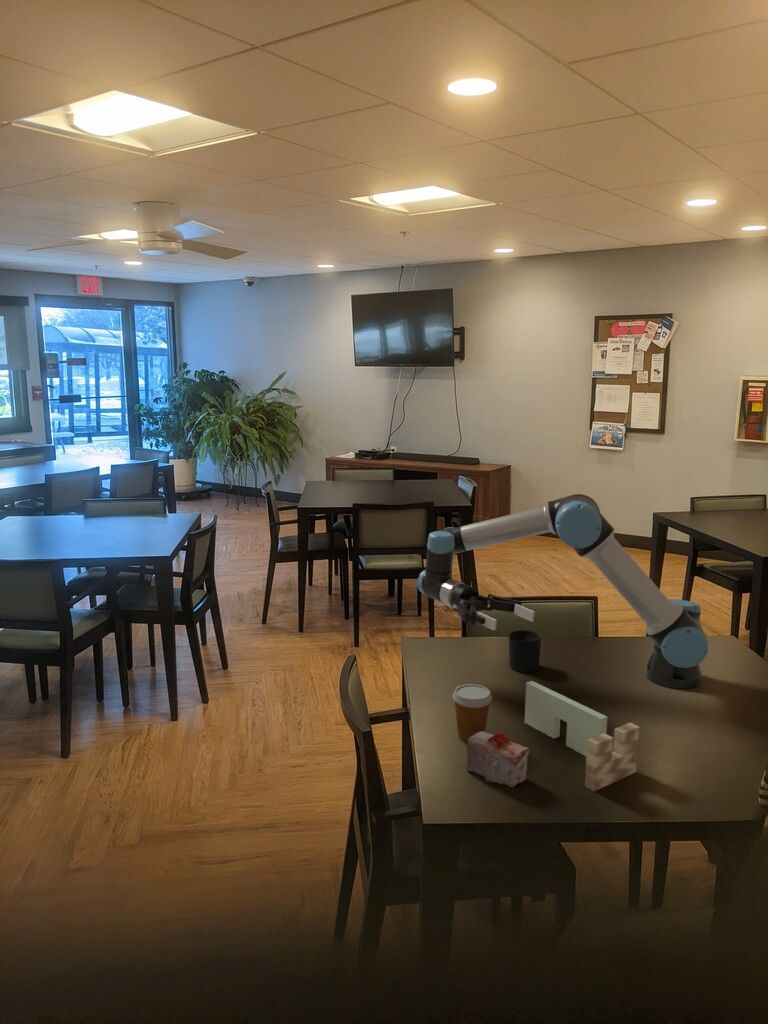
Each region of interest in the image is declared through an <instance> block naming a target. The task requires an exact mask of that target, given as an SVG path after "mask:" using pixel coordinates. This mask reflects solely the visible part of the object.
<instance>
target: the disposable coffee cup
mask: <svg viewBox="0 0 768 1024" xmlns="http://www.w3.org/2000/svg"><path fill="white" fill-rule="evenodd" d="M492 699H493V696H492V694H491V691H490V689H488V687H486V686H483V685H481V684H476V683H475V684H473V683H470V684H469V683H468V684H467V683H466V684H462V685H458V686H457V687H455V689H454V692H453V693H452V700H453V702H454V707H455V714H456V715H455V718H456V727H457V734H458V739H459V740H460V741H462V742H464V743H467V741H468V739H469V738H470V737H471V736H473V735H475V734H476V733H478V732H481V731H484V732H486V727H487V722H488V715H489V711H490V703H491V701H492Z"/></svg>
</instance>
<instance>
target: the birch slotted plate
mask: <svg viewBox="0 0 768 1024" xmlns="http://www.w3.org/2000/svg"><path fill="white" fill-rule="evenodd" d="M613 730H614V732H613V736H610V735H609V734H607V733H606V734H605V733H603V734H600V735H598V736H595V737H593V738H590V739H588V740H587V756H585V757H586V759H585V779H584V787H585V788H587V789H588V790H590V791H592V792H596V791H598V790H600V789H602V788H604V787H607V786H609V785H611V784H614V783H615V782H616V783H617V782H618V781H619V780H622V779H624V778H626V776H627V777H628V776H631V775H633V774H635V773H637V766H638V764H637V763H638V752H639V751H638V750H639V737H640V726H639V725H636V724H634V723H632V722H628V723H625V724H623V725H620V726H619V727H615V728H614V729H613ZM613 782H614V783H613Z"/></svg>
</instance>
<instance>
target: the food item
mask: <svg viewBox="0 0 768 1024" xmlns="http://www.w3.org/2000/svg"><path fill="white" fill-rule="evenodd" d="M466 744H467V745H466V747H467V748H466V750H467V751H466V771H469V772H471V773H472V772H473V773H475V774H477V775H479V776H482V777H484V779H485V780H486V781H487V782H489V783H497V784H499V785H505V786H507V787H509V788H514V787H515V786H516V785H518V784H521V783H524V781H526V780H527V769H528V758H529V755H530V747H526V746H524V745H521V744H518V743H514V742H512V741H511V737H509V736H508V735H506V734H505V733H501V732H500V733H495V734H494V735H493V734H491V733H488V732H486V731H485V732H484V731H481V732H478V733H476V734H475V735H473V736H471V737H470V738H469V739H468V741H467V742H466Z"/></svg>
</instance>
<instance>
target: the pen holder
mask: <svg viewBox="0 0 768 1024" xmlns="http://www.w3.org/2000/svg"><path fill="white" fill-rule="evenodd" d="M541 644H542V638H541V637H540V636H539V635H538V634H537V633H536V632H534V631H532V630H526V629H523V630H521V629H520V630H519V629H518V630H514V631H511V632H510V633H509V634H508V659H509V661H508V662H509V663H508V665H509V667H510V669H511V670H512V671H515V672H518V673H523V674H524V673H527V674H528V673H530V674H531V673H534V672H536V671H537V670H538V669H539V668H540V667H539V666H540V658H541V647H542V646H541Z"/></svg>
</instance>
